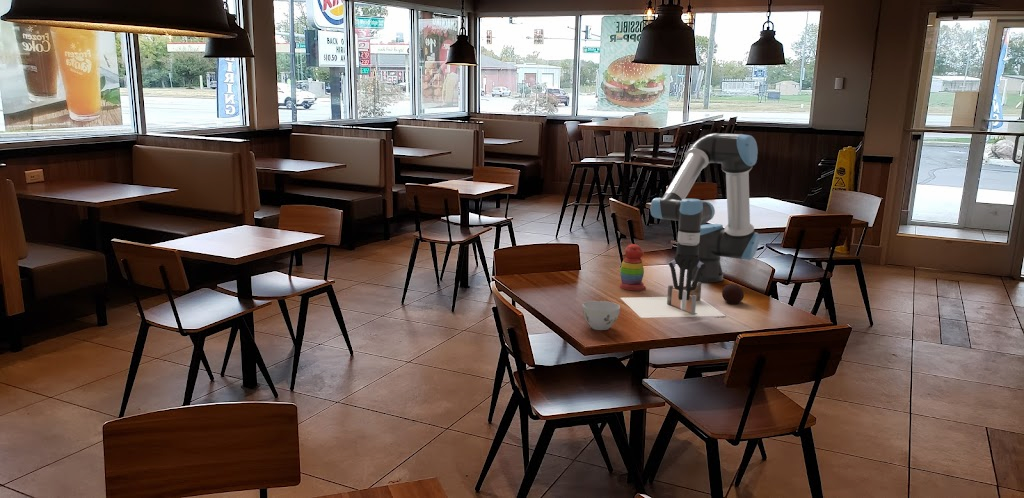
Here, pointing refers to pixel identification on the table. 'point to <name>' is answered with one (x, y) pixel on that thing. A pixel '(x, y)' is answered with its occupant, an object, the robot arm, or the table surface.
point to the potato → (733, 293)
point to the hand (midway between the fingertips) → (682, 308)
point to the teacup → (600, 314)
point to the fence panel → (689, 303)
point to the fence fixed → (692, 292)
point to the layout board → (667, 308)
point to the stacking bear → (632, 269)
